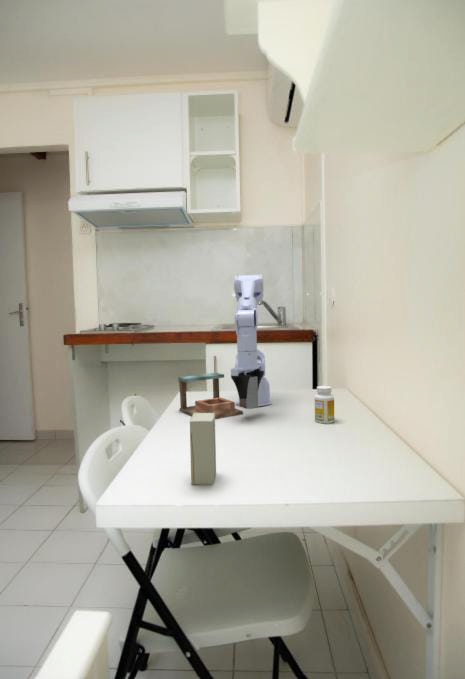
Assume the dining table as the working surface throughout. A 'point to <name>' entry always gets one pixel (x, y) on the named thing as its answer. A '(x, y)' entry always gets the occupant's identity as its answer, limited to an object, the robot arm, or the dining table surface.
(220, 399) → the socket station
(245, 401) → the steel peg
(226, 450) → the dining table surface
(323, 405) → the supplement bottle
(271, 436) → the dining table surface
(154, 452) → the dining table surface
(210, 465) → the skincare box
